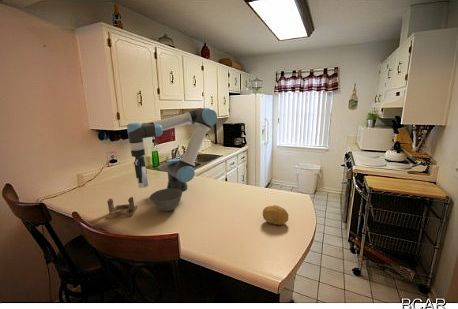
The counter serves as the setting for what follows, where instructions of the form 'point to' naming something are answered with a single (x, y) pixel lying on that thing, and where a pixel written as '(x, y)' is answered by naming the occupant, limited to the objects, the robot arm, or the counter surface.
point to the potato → (275, 215)
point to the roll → (144, 177)
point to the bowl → (166, 198)
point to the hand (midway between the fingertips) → (143, 185)
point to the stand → (121, 209)
